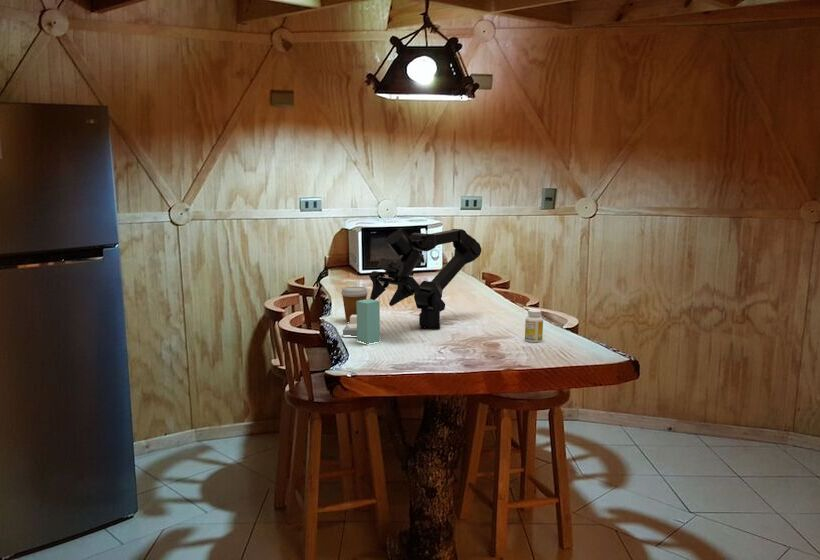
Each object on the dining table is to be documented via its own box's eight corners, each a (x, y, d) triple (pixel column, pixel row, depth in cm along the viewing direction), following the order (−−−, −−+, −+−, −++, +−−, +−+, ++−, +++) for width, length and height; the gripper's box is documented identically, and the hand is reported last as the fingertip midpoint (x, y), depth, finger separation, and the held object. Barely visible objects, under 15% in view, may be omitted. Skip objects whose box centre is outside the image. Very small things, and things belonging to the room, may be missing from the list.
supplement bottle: (527, 343, 191) (528, 312, 190) (522, 338, 196) (523, 308, 195) (544, 342, 192) (545, 311, 190) (539, 338, 197) (540, 308, 195)
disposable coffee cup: (344, 325, 214) (343, 291, 212) (339, 319, 223) (338, 286, 221) (371, 324, 217) (370, 290, 215) (365, 318, 226) (365, 285, 224)
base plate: (372, 327, 211) (372, 314, 211) (365, 338, 198) (365, 324, 197) (350, 327, 212) (349, 314, 211) (342, 337, 198) (341, 323, 198)
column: (369, 339, 196) (368, 298, 194) (379, 342, 193) (379, 301, 190) (357, 342, 193) (356, 301, 191) (367, 345, 189) (366, 303, 187)
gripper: (373, 246, 202) (346, 283, 196) (413, 250, 189) (386, 291, 183) (391, 267, 208) (366, 304, 203) (431, 273, 195) (405, 313, 189)
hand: (380, 303), depth 194 cm, fingers open, 9 cm apart
